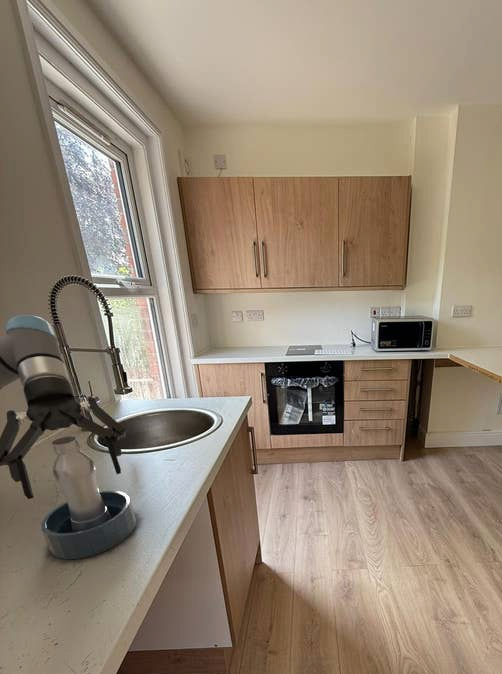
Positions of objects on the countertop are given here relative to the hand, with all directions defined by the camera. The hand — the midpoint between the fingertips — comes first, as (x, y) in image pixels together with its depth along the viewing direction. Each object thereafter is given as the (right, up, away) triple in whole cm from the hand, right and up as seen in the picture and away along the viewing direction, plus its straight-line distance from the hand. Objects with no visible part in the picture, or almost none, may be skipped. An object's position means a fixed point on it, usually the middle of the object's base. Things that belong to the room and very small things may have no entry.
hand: (76, 483), depth 63 cm
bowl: (0, -11, +6) cm, 13 cm away
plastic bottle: (0, -11, +6) cm, 12 cm away
